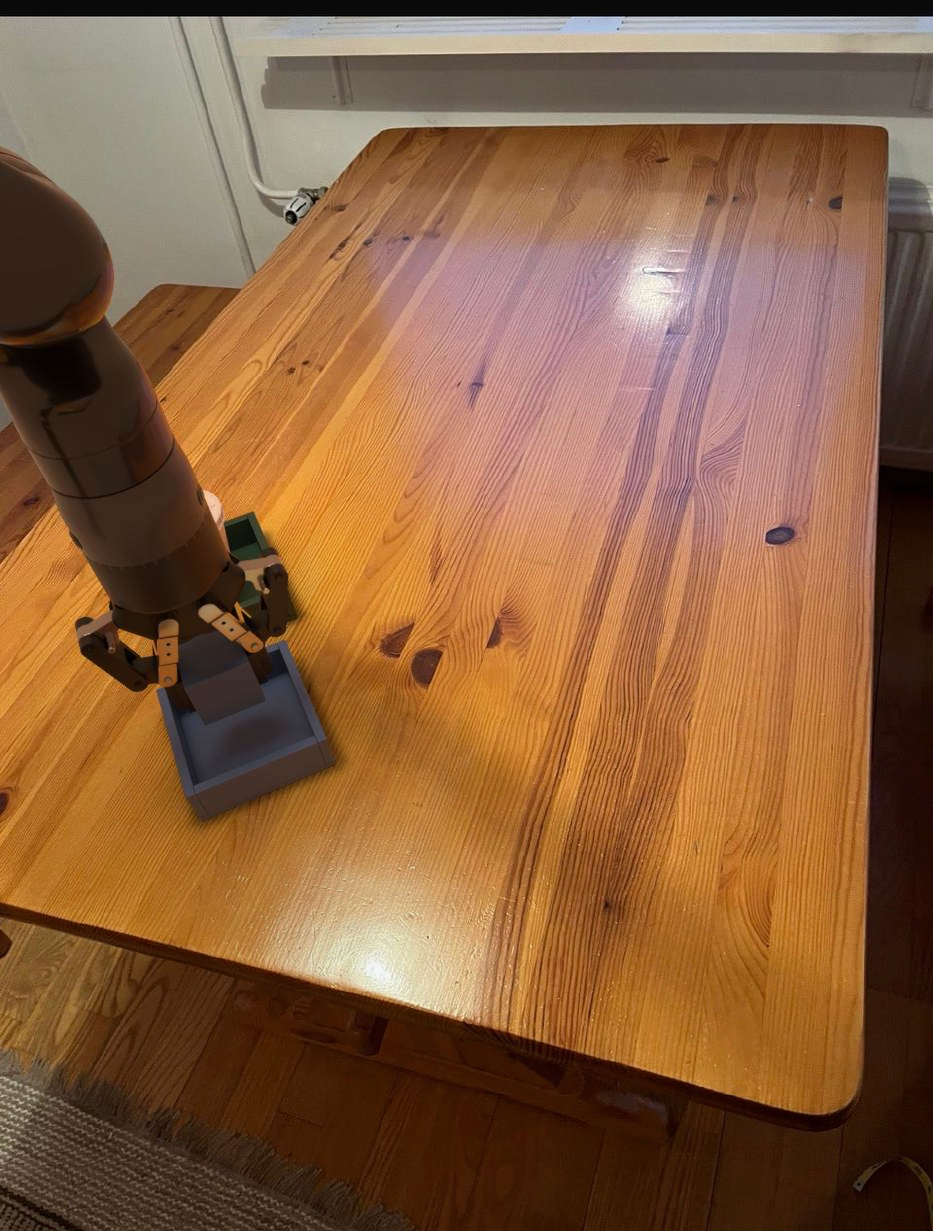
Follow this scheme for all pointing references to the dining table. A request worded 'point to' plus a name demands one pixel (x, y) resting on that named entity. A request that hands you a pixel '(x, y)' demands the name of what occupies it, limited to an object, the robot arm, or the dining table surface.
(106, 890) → the dining table surface
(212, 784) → the blue bin
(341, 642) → the dining table surface
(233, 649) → the blue block
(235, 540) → the green bin
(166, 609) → the robot arm
